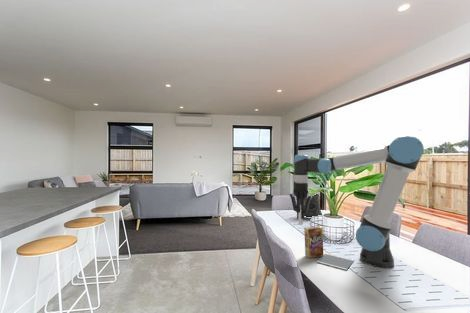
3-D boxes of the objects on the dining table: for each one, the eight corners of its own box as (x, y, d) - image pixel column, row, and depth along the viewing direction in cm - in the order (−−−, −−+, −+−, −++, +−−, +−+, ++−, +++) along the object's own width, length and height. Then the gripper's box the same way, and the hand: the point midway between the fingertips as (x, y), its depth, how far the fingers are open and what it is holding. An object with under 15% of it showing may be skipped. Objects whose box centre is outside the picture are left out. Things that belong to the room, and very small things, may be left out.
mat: (354, 261, 124) (354, 260, 124) (346, 270, 113) (346, 269, 113) (325, 254, 133) (325, 253, 133) (316, 262, 122) (316, 261, 122)
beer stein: (325, 219, 213) (325, 190, 213) (305, 220, 208) (305, 191, 209) (315, 214, 229) (315, 188, 229) (296, 215, 225) (296, 189, 225)
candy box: (309, 258, 127) (307, 229, 128) (305, 255, 131) (303, 227, 132) (324, 256, 129) (322, 227, 130) (319, 253, 133) (318, 225, 134)
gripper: (314, 182, 134) (314, 225, 134) (293, 181, 142) (292, 221, 142) (309, 183, 128) (309, 228, 128) (287, 182, 137) (286, 223, 136)
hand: (300, 224), depth 135 cm, fingers closed
